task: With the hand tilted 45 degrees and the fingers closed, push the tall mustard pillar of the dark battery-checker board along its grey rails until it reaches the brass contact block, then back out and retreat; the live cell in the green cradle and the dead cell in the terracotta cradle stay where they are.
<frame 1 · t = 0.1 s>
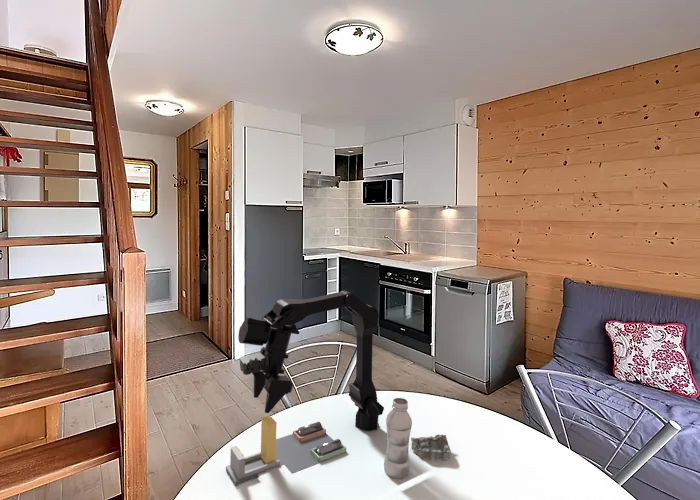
hand: (260, 404, 106), 15 cm above the table, tool pointing down, fingers open, 9 cm apart
checker: (267, 464, 106), on the table
tall mustard pillar: (268, 440, 105), point 7 cm above the table, slide at 0.0 cm
live cell: (329, 452, 111), point 1 cm above the table, touching checker
dead cell: (309, 434, 119), point 1 cm above the table, touching checker
egg carton: (430, 454, 114), on the table
plastic bottle: (396, 475, 104), on the table
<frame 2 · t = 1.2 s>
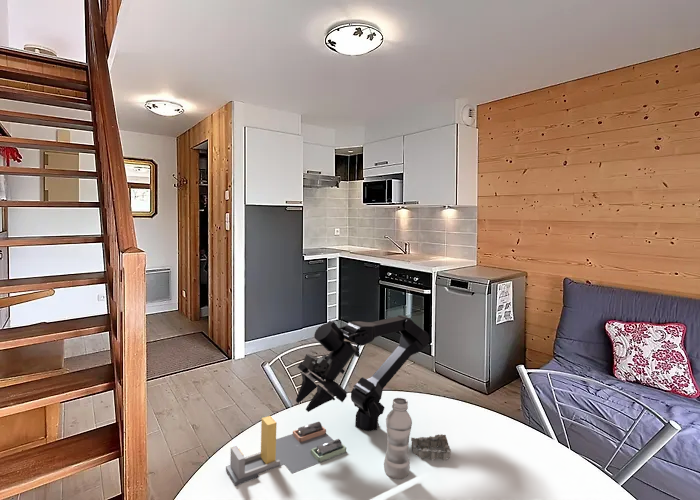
hand: (301, 406, 110), 14 cm above the table, tool tilted 45°, fingers open, 5 cm apart
nothing on the table moved.
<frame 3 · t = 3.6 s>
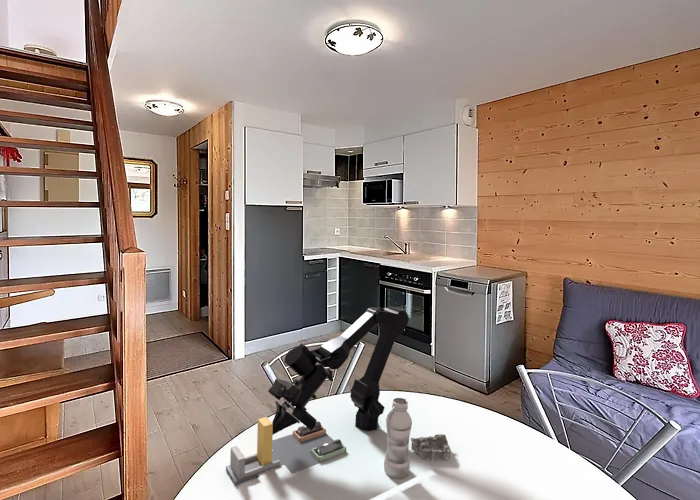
hand: (270, 433, 105), 8 cm above the table, tool tilted 45°, fingers closed, pressing on tall mustard pillar
tall mustard pillar: (264, 441, 105), point 7 cm above the table, slide at 1.1 cm, touching gripper
live cell: (329, 452, 111), point 1 cm above the table, tilted 7°, touching checker
dead cell: (309, 434, 119), point 1 cm above the table, tilted 10°, touching checker
everything else where it was.
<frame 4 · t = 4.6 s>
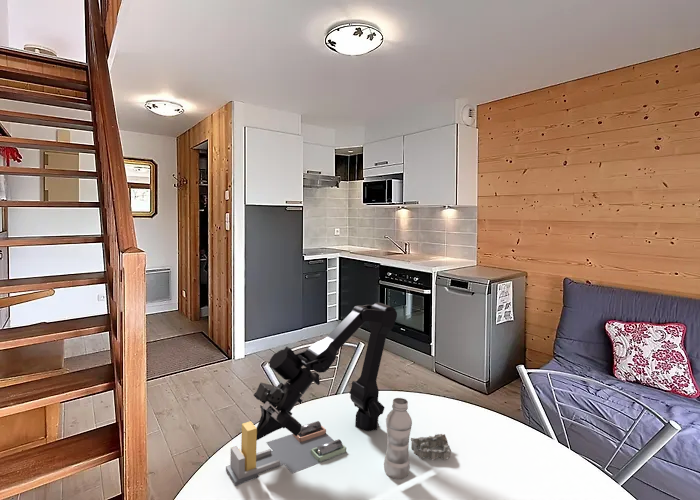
hand: (254, 439, 103), 8 cm above the table, tool tilted 45°, fingers closed
tall mustard pillar: (248, 446, 102), point 7 cm above the table, slide at 5.4 cm
dead cell: (309, 433, 119), point 1 cm above the table, tilted 16°, touching checker
everything else where it was.
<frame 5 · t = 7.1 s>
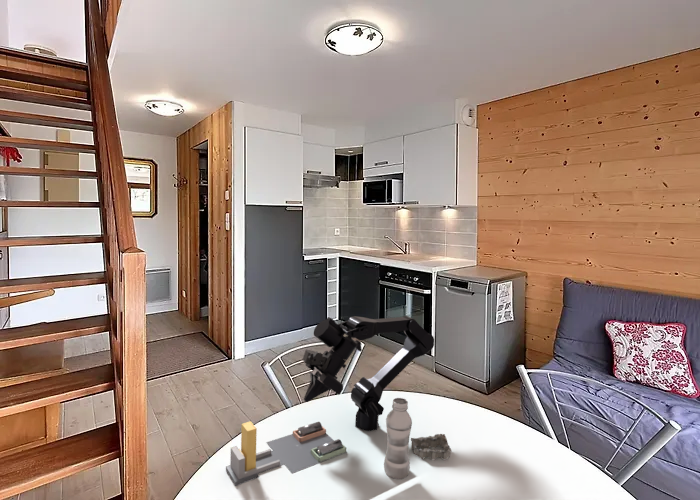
hand: (305, 400, 114), 13 cm above the table, tool tilted 40°, fingers closed
dead cell: (310, 434, 119), point 1 cm above the table, touching checker
everything else where it was.
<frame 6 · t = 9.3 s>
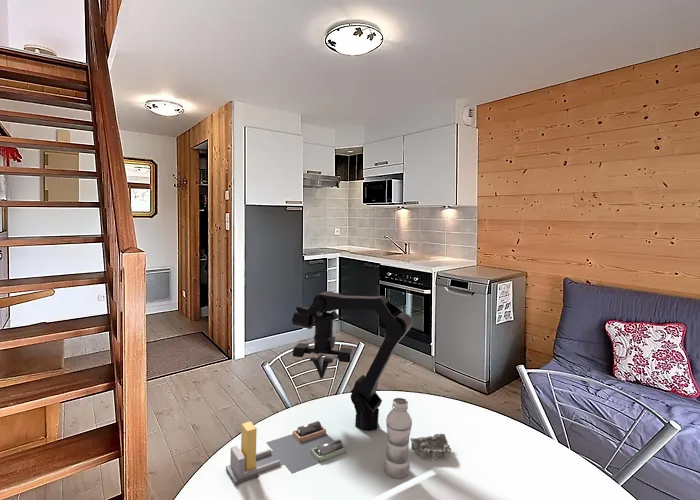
hand: (321, 377, 130), 13 cm above the table, tool pointing down, fingers closed
dead cell: (310, 433, 119), point 1 cm above the table, tilted 16°, touching checker
everything else where it was.
at the end: tall mustard pillar slide at 5.4 cm; live cell moved 0.0 cm from its start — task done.
